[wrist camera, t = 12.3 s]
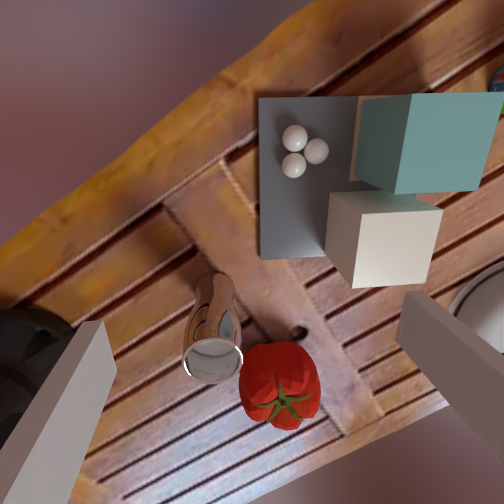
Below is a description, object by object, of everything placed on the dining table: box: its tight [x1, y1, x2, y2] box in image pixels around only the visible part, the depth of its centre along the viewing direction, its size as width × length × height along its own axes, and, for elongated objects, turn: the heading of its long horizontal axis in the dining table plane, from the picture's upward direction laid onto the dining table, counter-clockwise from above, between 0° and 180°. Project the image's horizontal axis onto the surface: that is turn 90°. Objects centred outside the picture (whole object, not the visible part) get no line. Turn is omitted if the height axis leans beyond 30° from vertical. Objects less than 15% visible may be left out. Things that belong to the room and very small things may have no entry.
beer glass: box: [182, 272, 243, 384], centre depth 38 cm, size 7×7×15 cm
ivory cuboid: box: [324, 190, 443, 288], centre depth 37 cm, size 9×9×10 cm
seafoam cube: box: [354, 92, 504, 194], centre depth 33 cm, size 9×9×10 cm
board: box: [258, 95, 417, 260], centre depth 40 cm, size 22×21×1 cm
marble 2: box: [282, 153, 306, 178], centre depth 36 cm, size 3×3×3 cm
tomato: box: [239, 341, 321, 431], centre depth 47 cm, size 14×13×10 cm
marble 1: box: [282, 125, 308, 152], centre depth 35 cm, size 3×3×3 cm
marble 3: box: [304, 138, 329, 164], centre depth 36 cm, size 3×3×3 cm
